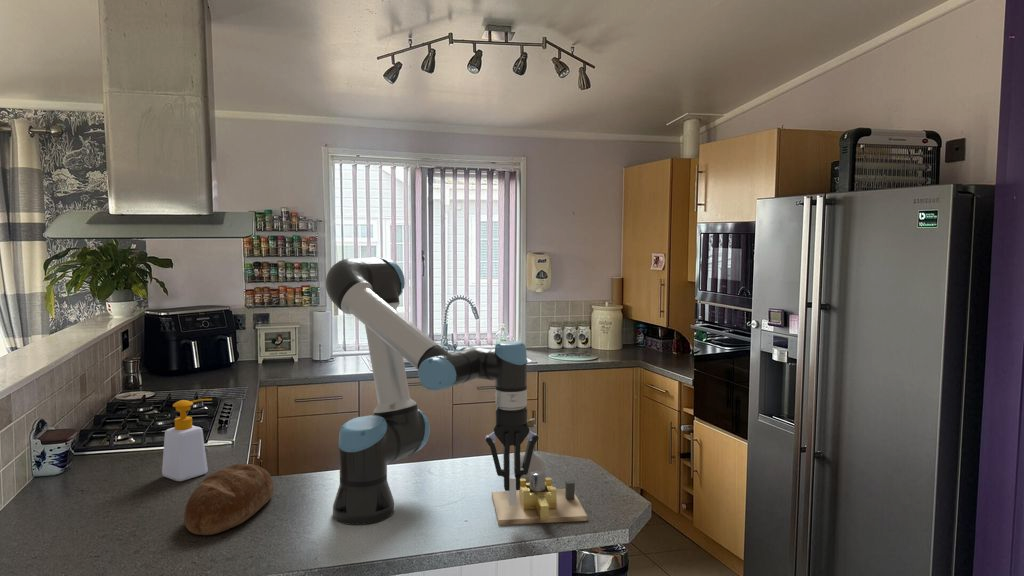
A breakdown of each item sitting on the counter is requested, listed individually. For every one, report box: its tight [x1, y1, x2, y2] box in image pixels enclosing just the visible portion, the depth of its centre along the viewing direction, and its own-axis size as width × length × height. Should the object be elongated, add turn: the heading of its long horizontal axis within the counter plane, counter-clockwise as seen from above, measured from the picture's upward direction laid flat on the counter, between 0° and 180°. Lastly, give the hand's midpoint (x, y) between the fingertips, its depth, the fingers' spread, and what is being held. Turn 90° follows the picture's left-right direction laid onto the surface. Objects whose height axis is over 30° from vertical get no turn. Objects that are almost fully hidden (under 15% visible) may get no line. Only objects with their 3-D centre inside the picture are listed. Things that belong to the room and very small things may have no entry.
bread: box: [183, 463, 275, 536], centre depth 165 cm, size 16×29×11 cm, turn 175°
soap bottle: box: [161, 398, 213, 482], centre depth 192 cm, size 10×14×22 cm
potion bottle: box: [520, 417, 546, 483], centre depth 188 cm, size 9×9×18 cm
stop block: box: [564, 480, 576, 500], centre depth 172 cm, size 2×2×4 cm
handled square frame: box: [518, 477, 558, 520], centre depth 165 cm, size 15×8×5 cm, turn 7°
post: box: [530, 471, 546, 493], centre depth 169 cm, size 4×4×9 cm
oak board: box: [491, 488, 588, 526], centre depth 169 cm, size 22×18×1 cm
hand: (512, 503), depth 158 cm, fingers closed
